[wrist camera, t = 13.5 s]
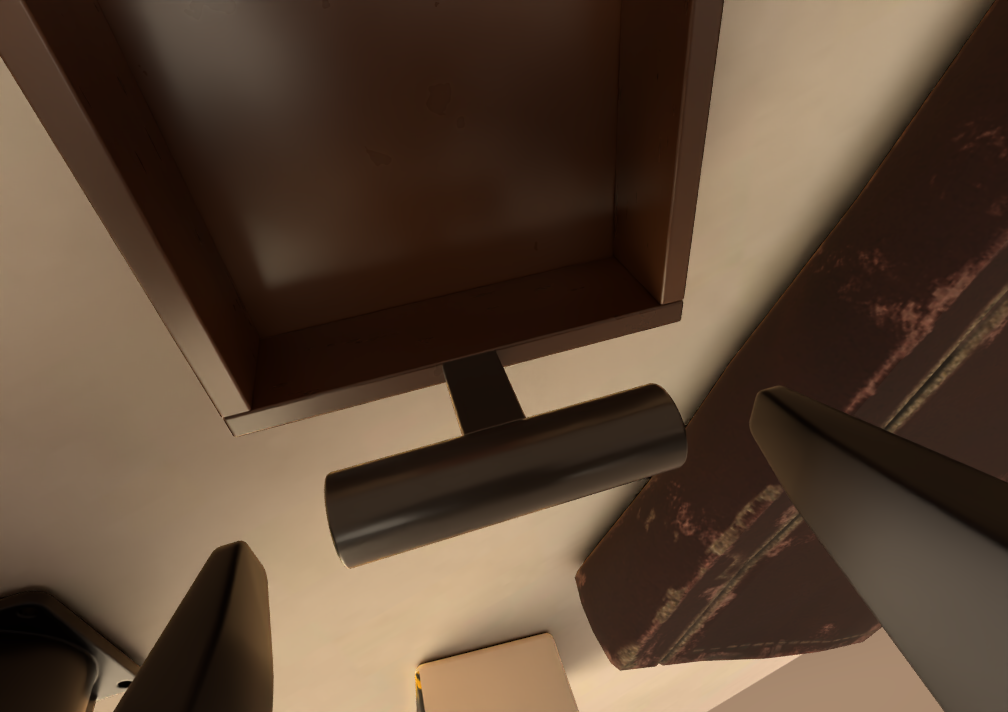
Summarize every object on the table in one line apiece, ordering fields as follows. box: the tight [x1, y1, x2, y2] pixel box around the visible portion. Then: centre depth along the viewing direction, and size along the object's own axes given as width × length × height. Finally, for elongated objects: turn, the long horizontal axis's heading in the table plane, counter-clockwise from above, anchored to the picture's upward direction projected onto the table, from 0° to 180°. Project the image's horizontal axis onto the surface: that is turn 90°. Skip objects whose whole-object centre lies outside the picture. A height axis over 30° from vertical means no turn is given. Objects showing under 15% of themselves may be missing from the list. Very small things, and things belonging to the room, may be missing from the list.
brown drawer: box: [0, 0, 724, 569], centre depth 9 cm, size 11×10×7 cm
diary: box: [575, 0, 1008, 670], centre depth 21 cm, size 19×25×5 cm
